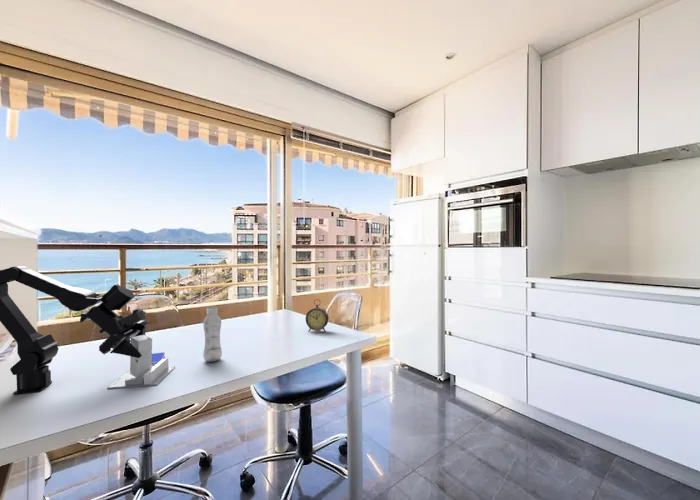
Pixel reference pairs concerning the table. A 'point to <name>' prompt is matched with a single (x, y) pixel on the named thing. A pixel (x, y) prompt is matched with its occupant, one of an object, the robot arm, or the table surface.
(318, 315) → the alarm clock
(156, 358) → the hard drive
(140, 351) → the skincare box
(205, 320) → the plastic bottle
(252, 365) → the table surface
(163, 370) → the rail base
